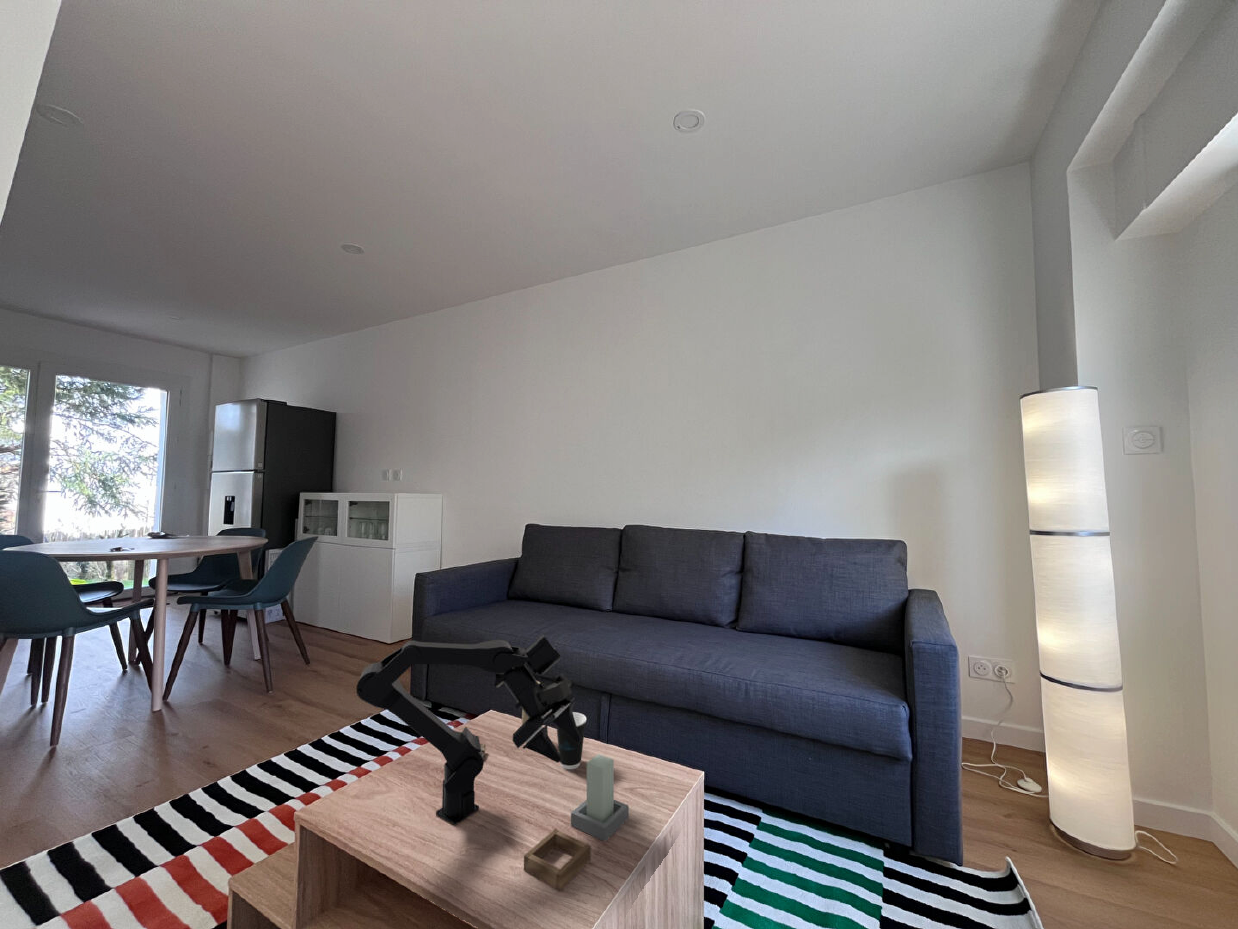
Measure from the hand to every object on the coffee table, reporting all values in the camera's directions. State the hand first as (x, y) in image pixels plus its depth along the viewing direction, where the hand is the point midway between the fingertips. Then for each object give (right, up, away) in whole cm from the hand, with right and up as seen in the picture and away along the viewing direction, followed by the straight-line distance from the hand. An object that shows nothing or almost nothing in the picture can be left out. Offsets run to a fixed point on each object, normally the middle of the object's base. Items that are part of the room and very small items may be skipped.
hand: (570, 750), depth 103 cm
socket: (+7, -13, -4) cm, 15 cm away
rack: (-1, -12, -16) cm, 19 cm away
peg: (+7, -13, -4) cm, 15 cm away
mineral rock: (-29, -15, +20) cm, 38 cm away
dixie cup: (-2, -15, +18) cm, 23 cm away
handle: (-15, -16, +32) cm, 38 cm away
